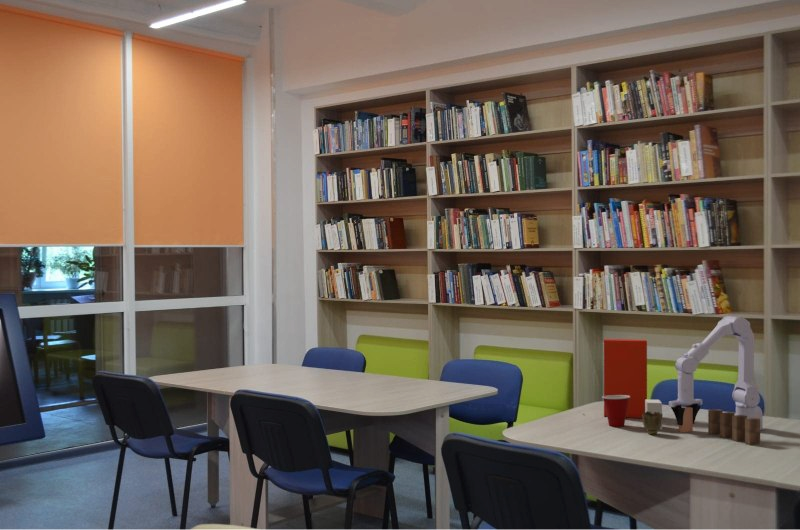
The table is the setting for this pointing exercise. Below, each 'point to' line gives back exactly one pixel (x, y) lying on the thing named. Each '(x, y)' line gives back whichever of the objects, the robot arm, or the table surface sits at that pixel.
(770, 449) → the table surface
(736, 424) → the domino
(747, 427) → the domino
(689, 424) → the domino
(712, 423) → the domino
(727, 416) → the domino
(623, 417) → the plastic cup
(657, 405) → the small box
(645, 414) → the cup
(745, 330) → the robot arm
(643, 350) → the tall red box
